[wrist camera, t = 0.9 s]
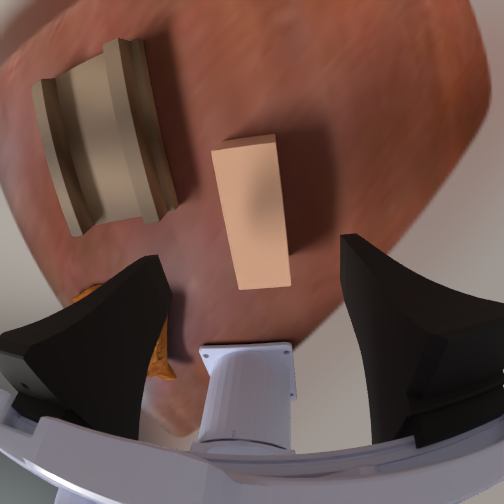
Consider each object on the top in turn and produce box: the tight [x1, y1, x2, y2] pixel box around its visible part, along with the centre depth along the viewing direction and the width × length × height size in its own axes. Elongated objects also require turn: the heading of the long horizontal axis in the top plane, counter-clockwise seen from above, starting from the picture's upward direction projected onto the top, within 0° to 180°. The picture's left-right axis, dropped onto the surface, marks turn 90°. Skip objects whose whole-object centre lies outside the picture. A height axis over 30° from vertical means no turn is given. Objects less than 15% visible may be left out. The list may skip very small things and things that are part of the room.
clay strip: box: [211, 134, 291, 290], centre depth 16 cm, size 8×3×4 cm, turn 8°
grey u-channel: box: [31, 38, 179, 237], centre depth 15 cm, size 11×8×2 cm
